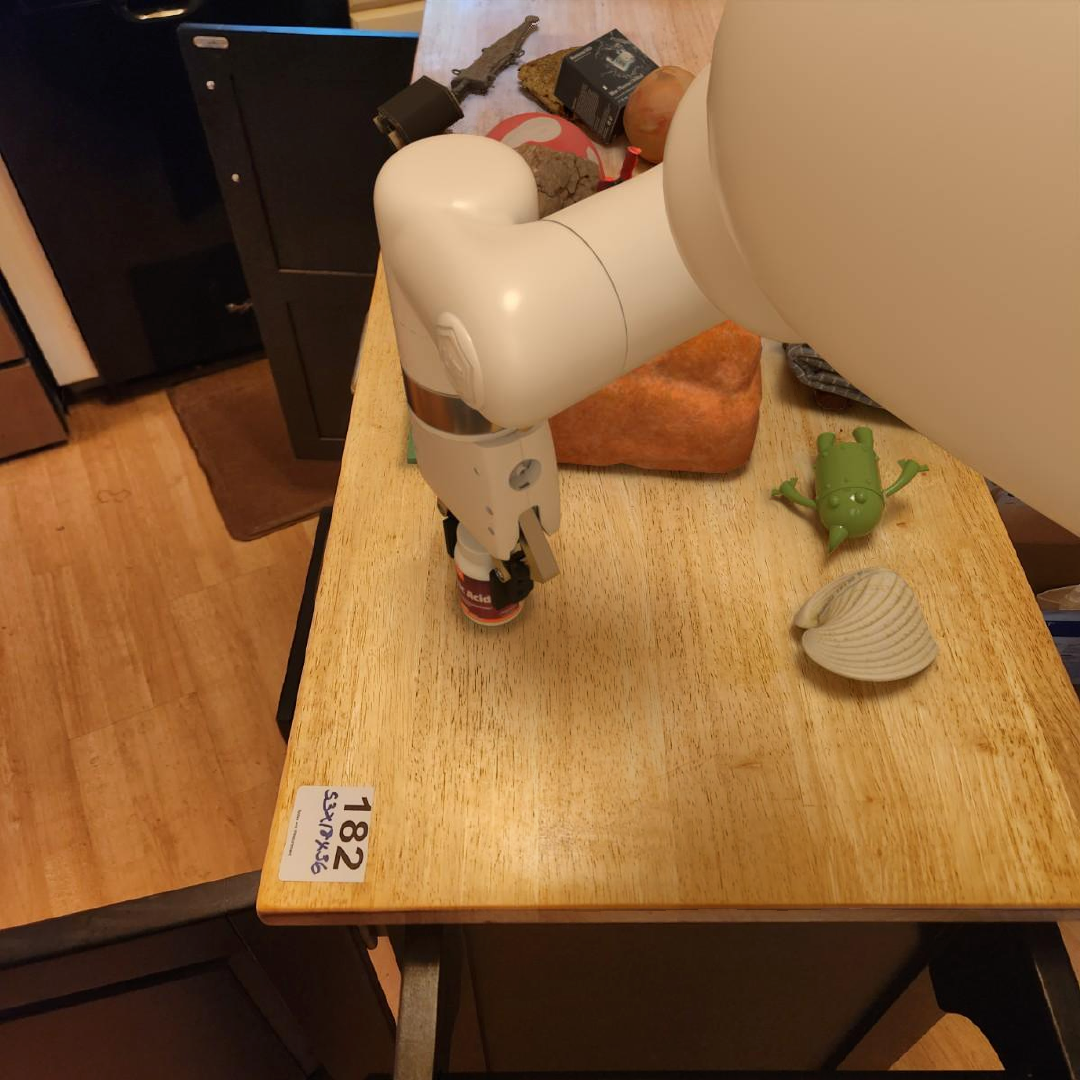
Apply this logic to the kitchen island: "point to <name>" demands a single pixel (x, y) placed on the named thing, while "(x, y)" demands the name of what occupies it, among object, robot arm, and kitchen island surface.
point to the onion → (655, 110)
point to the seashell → (867, 627)
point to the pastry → (546, 81)
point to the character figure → (849, 486)
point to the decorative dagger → (490, 62)
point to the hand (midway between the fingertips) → (490, 570)
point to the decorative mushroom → (545, 135)
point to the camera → (418, 113)
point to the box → (602, 82)
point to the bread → (673, 409)
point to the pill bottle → (478, 581)
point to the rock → (559, 177)
